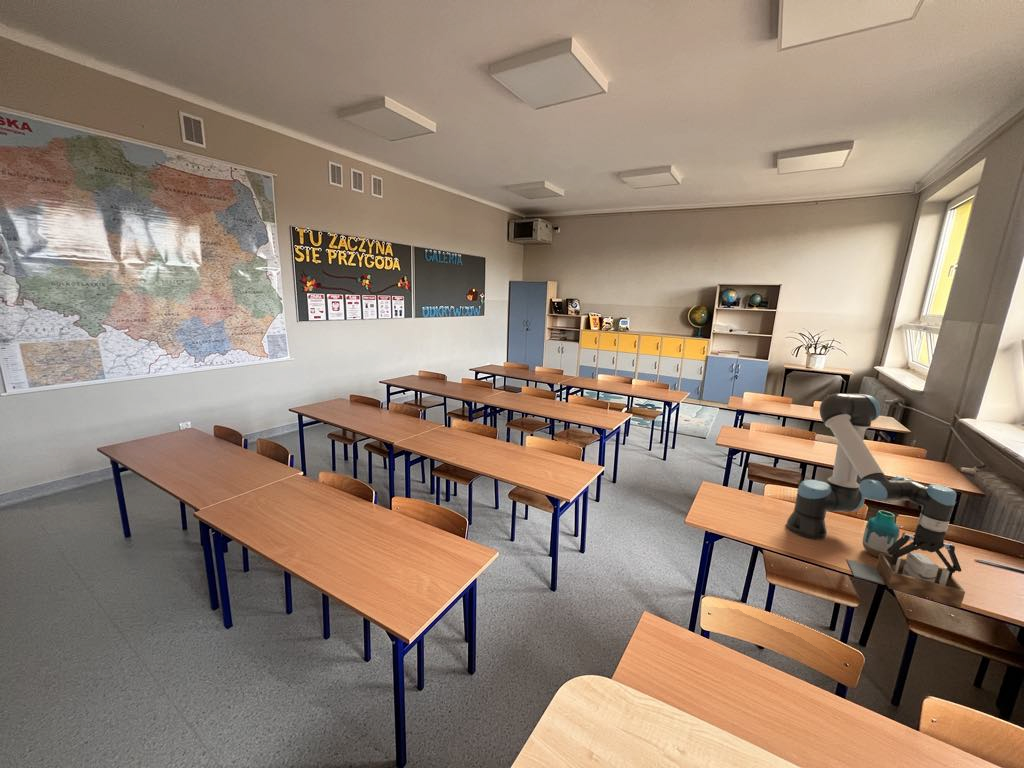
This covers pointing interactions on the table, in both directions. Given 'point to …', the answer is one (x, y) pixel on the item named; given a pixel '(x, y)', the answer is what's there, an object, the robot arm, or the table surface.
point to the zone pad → (865, 571)
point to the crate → (920, 583)
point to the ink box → (920, 567)
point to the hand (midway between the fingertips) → (917, 578)
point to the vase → (880, 533)
